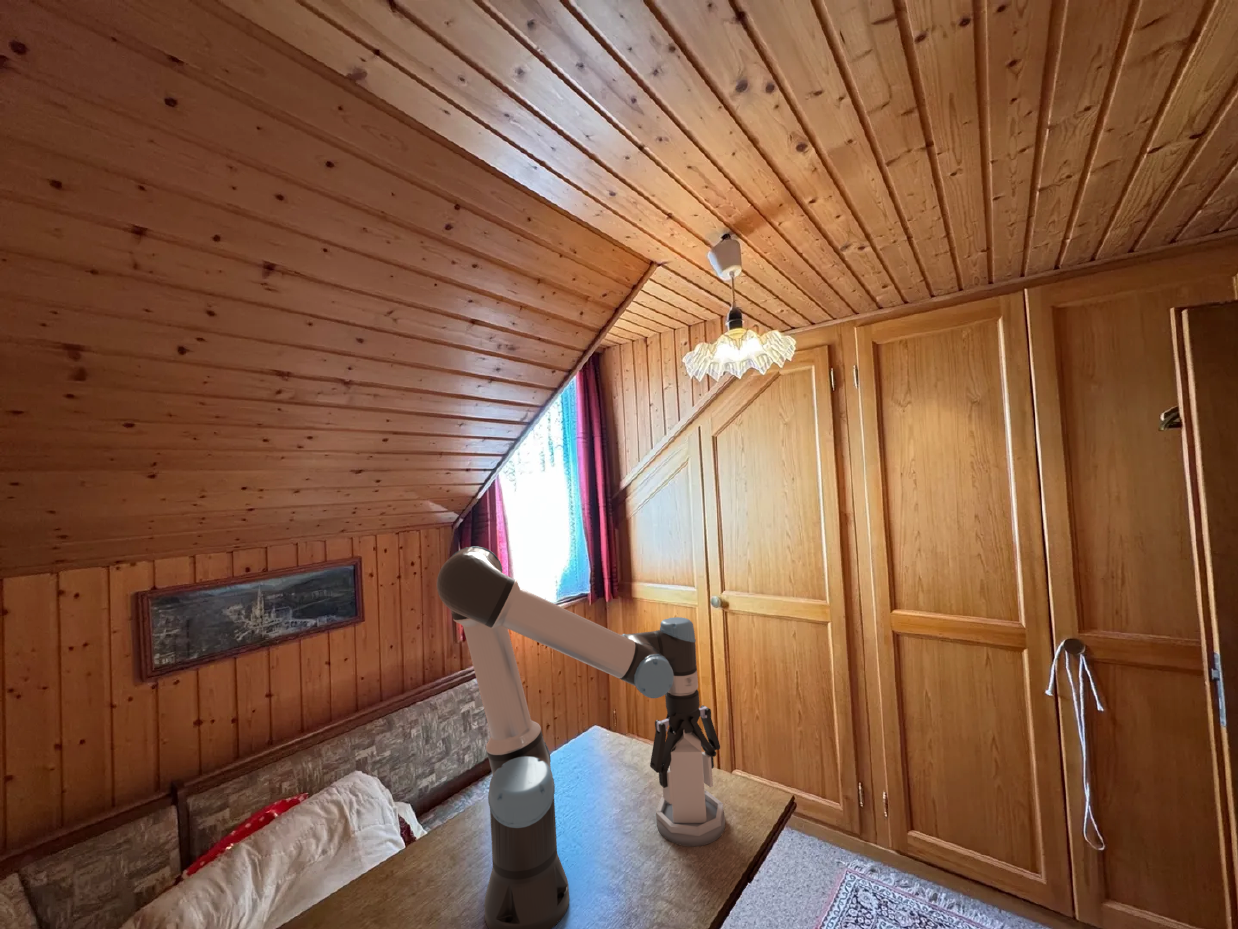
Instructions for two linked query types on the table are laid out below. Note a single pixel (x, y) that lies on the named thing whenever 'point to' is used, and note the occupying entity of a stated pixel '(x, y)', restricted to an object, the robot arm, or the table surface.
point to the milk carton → (688, 780)
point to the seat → (692, 824)
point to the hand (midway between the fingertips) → (688, 792)
